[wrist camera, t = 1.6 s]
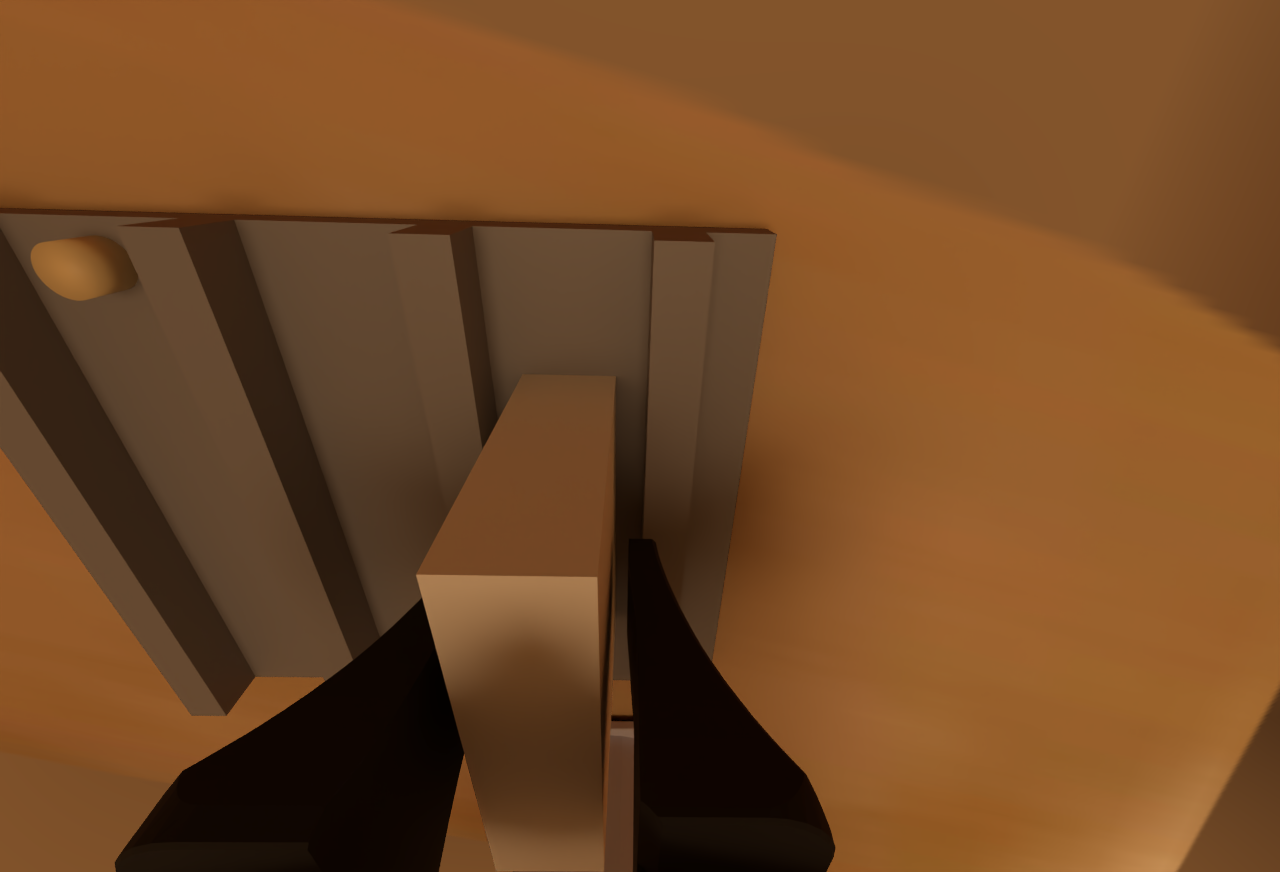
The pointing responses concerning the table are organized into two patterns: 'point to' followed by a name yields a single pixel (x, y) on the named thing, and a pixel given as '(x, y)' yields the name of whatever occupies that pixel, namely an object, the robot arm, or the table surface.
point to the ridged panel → (351, 409)
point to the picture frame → (534, 621)
